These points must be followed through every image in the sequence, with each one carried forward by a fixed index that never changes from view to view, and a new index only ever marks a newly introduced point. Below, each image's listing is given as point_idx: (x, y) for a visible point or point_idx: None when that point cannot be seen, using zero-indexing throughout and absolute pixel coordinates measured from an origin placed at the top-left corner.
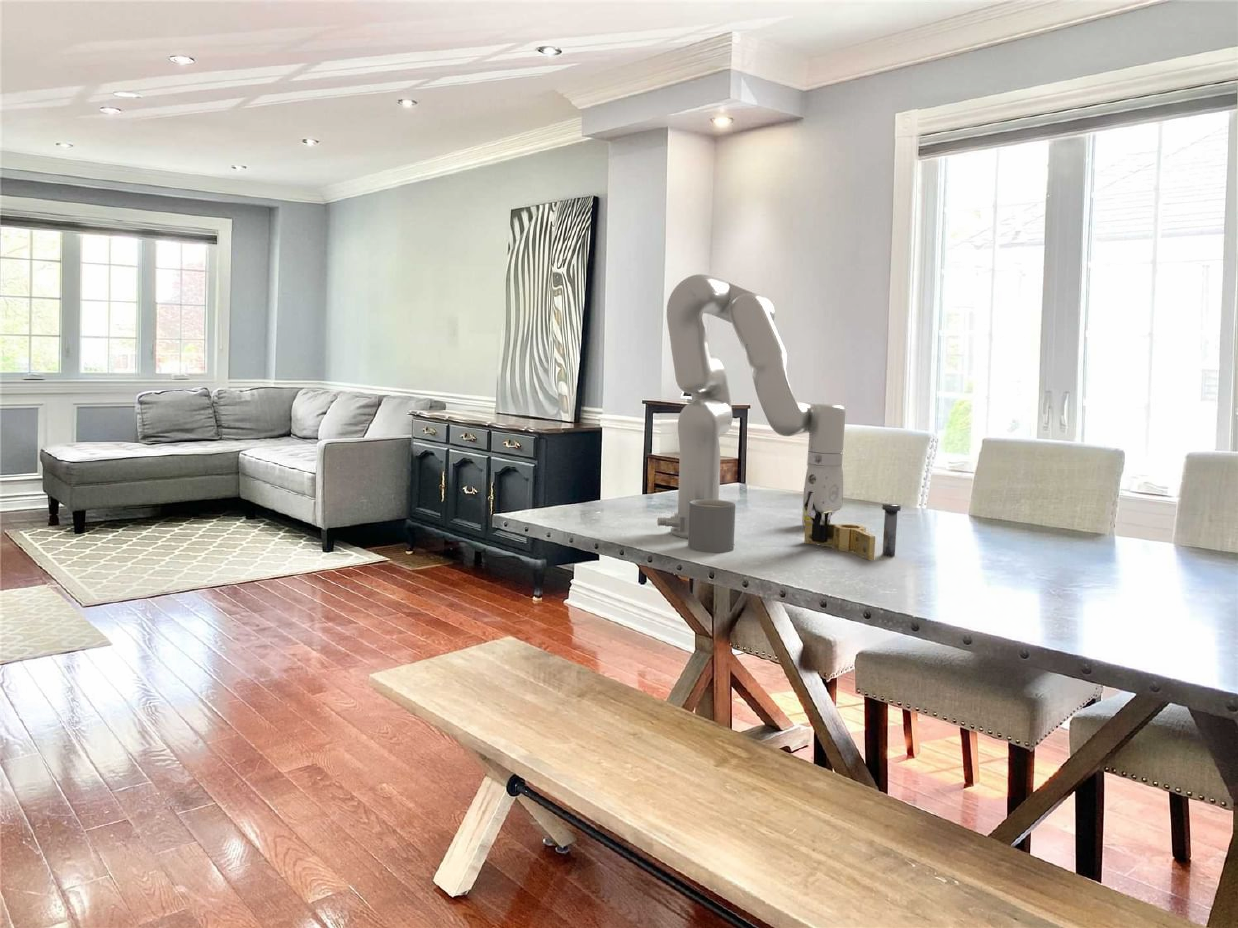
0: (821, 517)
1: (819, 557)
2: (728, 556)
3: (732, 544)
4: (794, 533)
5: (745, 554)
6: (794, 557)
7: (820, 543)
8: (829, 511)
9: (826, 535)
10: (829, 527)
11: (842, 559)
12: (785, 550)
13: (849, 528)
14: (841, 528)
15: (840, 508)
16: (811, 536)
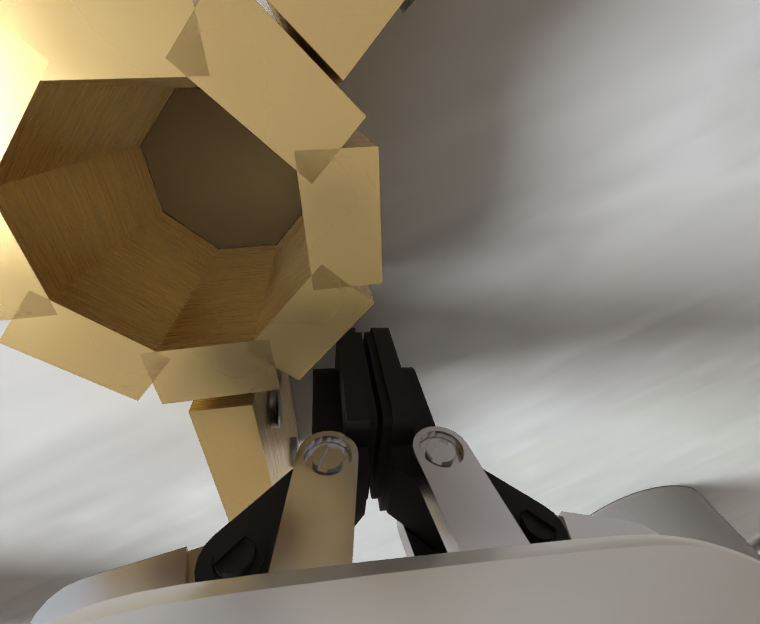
0: (504, 505)
1: (652, 198)
2: (748, 450)
3: (664, 511)
4: (125, 561)
5: (696, 440)
6: (697, 297)
7: (285, 373)
8: (524, 551)
9: (359, 356)
10: (263, 417)
11: (664, 25)
12: (547, 399)
13: (322, 175)
14: (379, 264)
15: (103, 620)
16: (296, 446)
